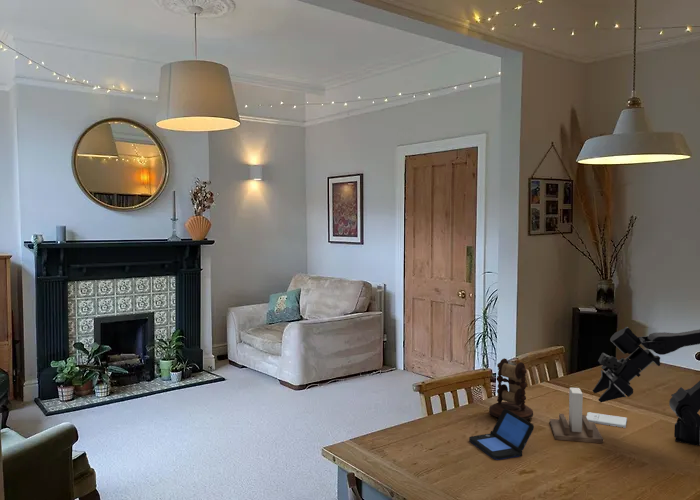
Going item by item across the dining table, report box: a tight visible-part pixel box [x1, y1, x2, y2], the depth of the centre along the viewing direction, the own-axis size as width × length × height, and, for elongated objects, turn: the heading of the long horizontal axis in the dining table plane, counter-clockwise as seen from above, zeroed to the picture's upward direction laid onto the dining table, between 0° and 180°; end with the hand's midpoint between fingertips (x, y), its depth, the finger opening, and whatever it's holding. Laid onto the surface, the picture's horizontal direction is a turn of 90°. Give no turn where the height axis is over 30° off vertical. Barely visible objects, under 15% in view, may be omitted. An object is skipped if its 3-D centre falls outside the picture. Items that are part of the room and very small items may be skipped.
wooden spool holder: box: [488, 358, 534, 420], centre depth 198 cm, size 15×15×20 cm
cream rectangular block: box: [568, 387, 584, 432], centre depth 183 cm, size 3×6×12 cm, turn 167°
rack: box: [549, 413, 604, 444], centre depth 184 cm, size 14×15×4 cm
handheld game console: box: [469, 409, 535, 461], centre depth 172 cm, size 16×13×9 cm
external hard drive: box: [585, 411, 628, 429], centre depth 194 cm, size 2×8×12 cm
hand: (596, 396), depth 182 cm, fingers open, 9 cm apart
